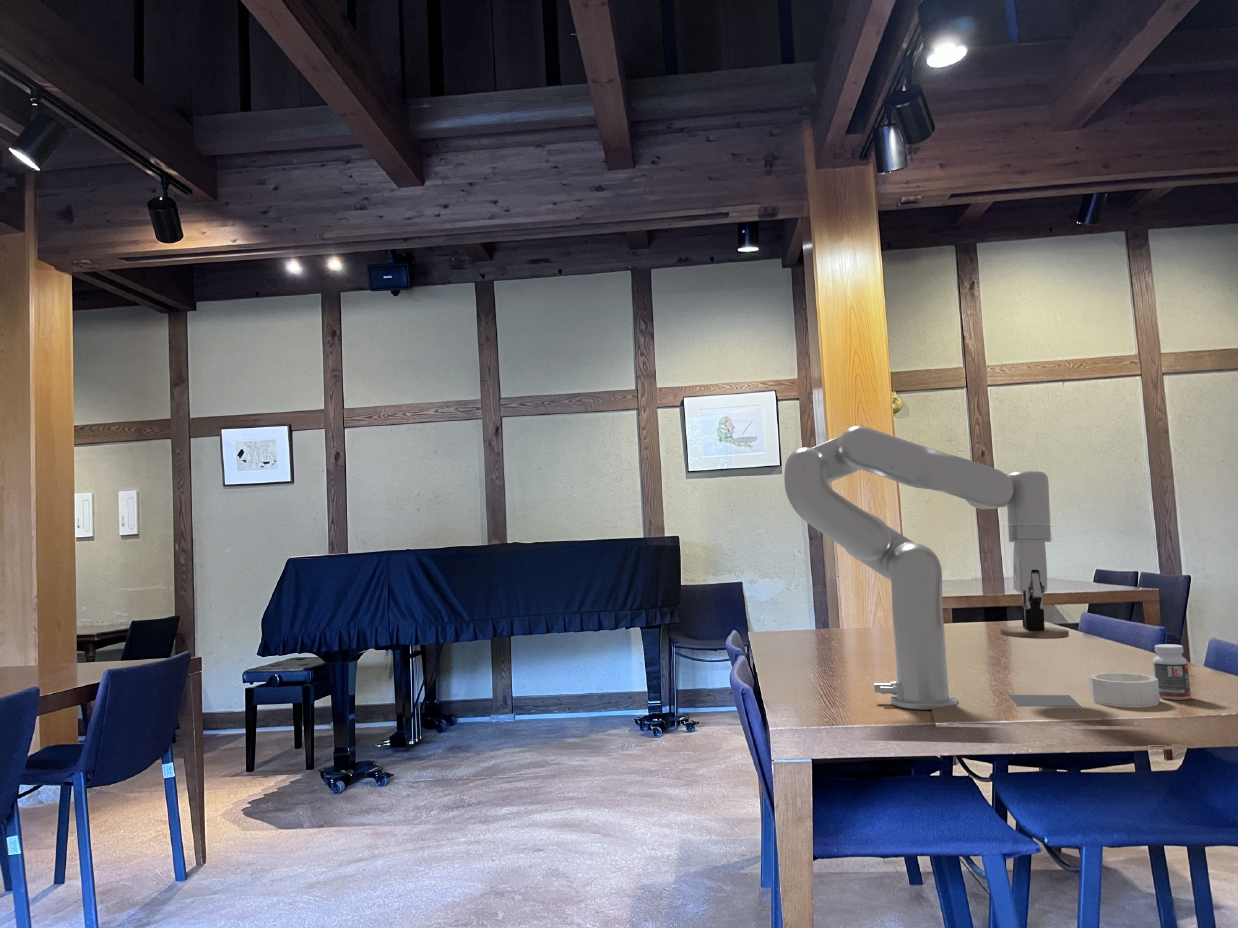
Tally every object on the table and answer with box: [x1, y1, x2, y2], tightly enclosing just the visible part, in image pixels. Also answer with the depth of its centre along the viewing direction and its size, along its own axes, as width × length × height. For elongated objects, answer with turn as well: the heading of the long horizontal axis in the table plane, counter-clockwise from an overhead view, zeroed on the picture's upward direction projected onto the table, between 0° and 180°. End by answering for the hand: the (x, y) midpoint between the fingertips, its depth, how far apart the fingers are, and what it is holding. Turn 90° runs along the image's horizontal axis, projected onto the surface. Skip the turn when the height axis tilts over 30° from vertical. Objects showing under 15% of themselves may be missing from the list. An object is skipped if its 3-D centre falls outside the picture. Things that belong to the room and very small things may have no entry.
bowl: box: [1088, 672, 1161, 708], centre depth 166 cm, size 11×11×5 cm
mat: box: [1008, 694, 1082, 708], centre depth 170 cm, size 11×11×1 cm
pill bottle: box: [1152, 643, 1192, 701], centre depth 170 cm, size 6×6×10 cm
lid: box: [999, 603, 1070, 640], centre depth 171 cm, size 12×12×6 cm
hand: (1033, 628), depth 171 cm, fingers closed on lid, 3 cm apart
